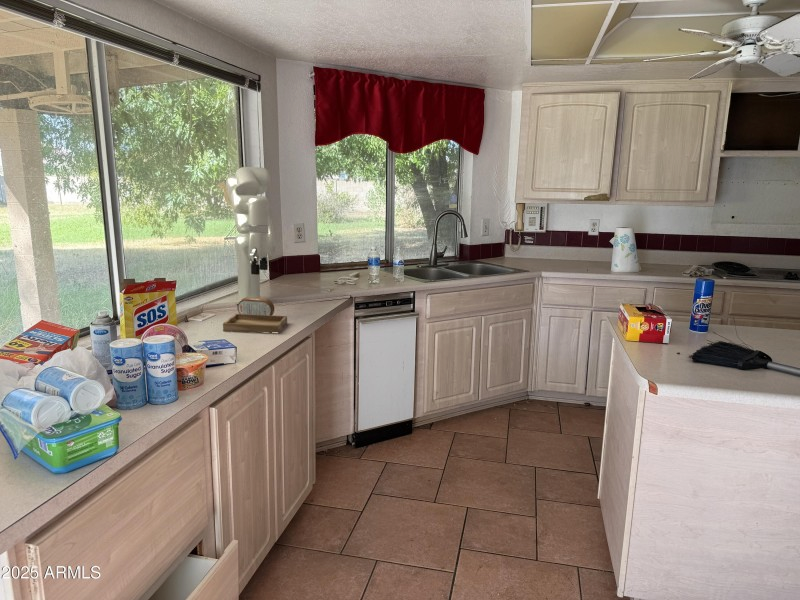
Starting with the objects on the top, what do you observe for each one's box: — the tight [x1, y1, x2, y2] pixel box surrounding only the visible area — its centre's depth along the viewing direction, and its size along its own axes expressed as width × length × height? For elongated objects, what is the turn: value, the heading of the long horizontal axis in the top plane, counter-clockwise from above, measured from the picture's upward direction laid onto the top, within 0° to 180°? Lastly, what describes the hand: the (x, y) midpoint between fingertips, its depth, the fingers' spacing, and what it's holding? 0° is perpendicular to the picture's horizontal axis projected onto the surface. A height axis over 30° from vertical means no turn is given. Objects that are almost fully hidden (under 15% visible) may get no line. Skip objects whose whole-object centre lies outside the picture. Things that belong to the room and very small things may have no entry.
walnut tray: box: [222, 313, 288, 334], centre depth 208 cm, size 15×21×3 cm
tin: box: [237, 297, 275, 316], centre depth 220 cm, size 15×3×8 cm, turn 84°
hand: (259, 272), depth 216 cm, fingers open, 9 cm apart
